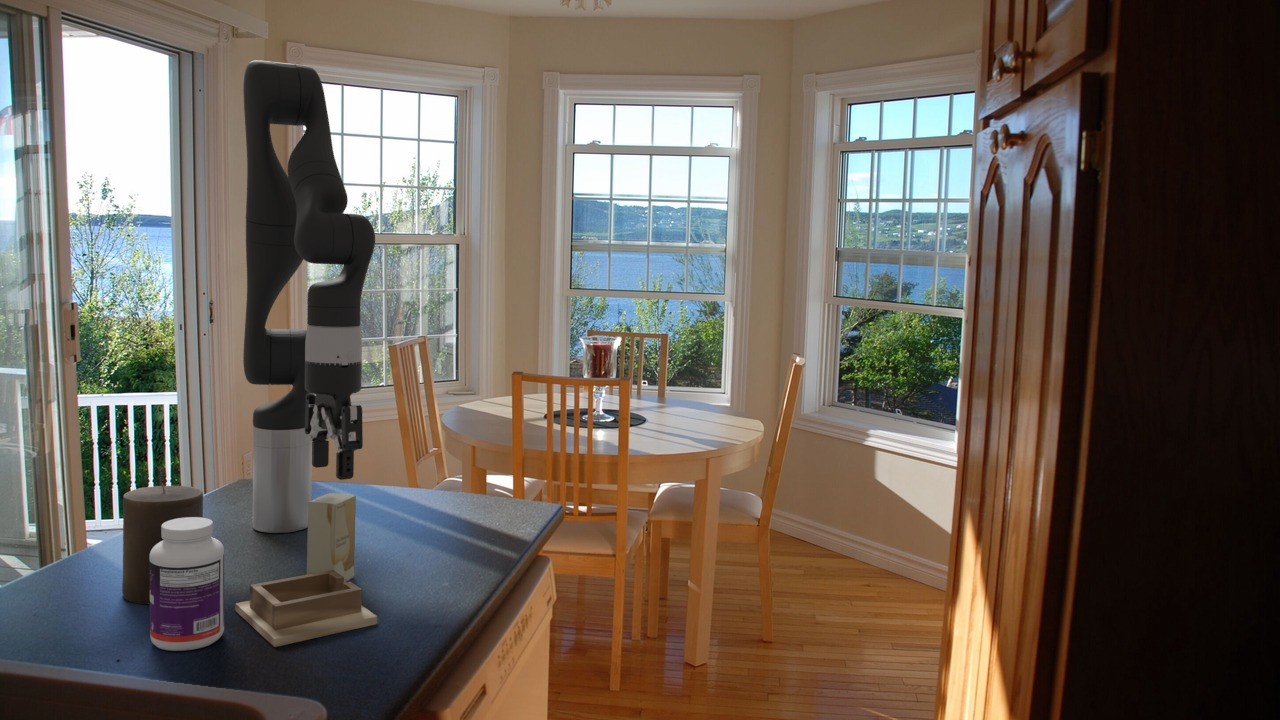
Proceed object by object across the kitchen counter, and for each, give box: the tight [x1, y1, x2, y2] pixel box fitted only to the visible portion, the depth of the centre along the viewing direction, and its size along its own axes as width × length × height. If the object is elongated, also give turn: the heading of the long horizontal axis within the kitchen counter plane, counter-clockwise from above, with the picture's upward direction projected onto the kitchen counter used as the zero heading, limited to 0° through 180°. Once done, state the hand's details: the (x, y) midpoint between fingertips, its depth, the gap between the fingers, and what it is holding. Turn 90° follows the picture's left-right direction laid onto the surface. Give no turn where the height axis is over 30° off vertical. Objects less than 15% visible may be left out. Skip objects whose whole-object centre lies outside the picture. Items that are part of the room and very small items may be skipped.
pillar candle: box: [121, 483, 204, 605], centre depth 130 cm, size 10×10×15 cm
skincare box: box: [306, 492, 357, 583], centre depth 137 cm, size 6×4×12 cm
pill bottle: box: [149, 517, 225, 652], centre depth 115 cm, size 8×8×14 cm
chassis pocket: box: [234, 570, 378, 648], centre depth 124 cm, size 14×13×4 cm
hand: (332, 472), depth 136 cm, fingers open, 8 cm apart
